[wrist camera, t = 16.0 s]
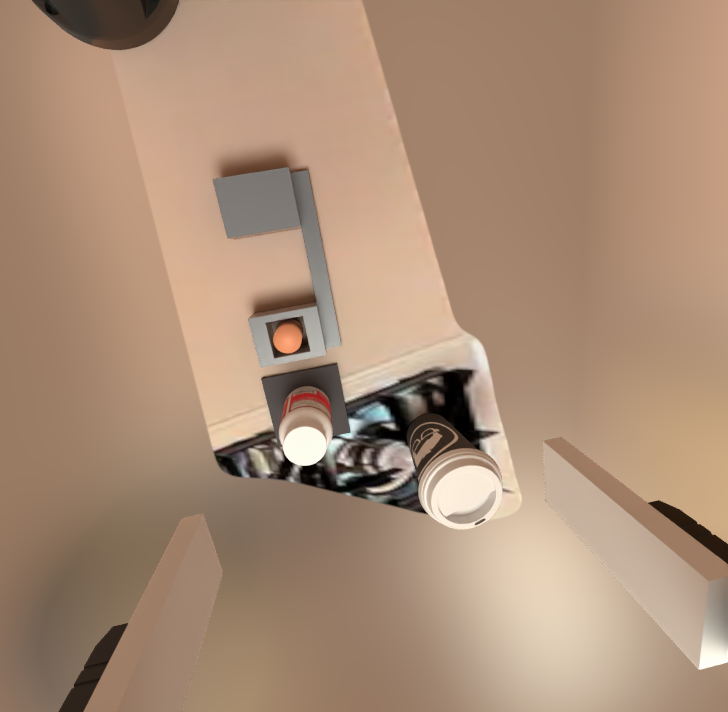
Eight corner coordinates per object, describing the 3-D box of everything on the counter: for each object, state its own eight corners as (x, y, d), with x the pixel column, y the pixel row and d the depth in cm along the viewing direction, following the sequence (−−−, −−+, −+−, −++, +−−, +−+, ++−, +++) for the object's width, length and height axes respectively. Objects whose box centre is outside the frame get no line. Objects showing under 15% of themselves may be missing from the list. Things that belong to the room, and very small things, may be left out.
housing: (221, 185, 44) (212, 179, 40) (308, 171, 45) (307, 164, 41) (265, 358, 50) (260, 367, 46) (340, 344, 51) (342, 351, 47)
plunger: (275, 321, 48) (270, 328, 44) (300, 316, 49) (298, 323, 44) (280, 345, 49) (276, 355, 44) (305, 340, 50) (304, 350, 45)
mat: (261, 378, 50) (261, 379, 50) (336, 363, 51) (337, 364, 51) (279, 445, 53) (278, 447, 53) (350, 430, 54) (350, 432, 53)
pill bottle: (306, 436, 53) (303, 482, 42) (274, 405, 51) (263, 446, 41) (340, 406, 52) (345, 446, 42) (308, 375, 51) (306, 408, 40)
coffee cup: (398, 468, 56) (426, 542, 42) (393, 408, 54) (420, 466, 39) (462, 457, 57) (510, 527, 43) (459, 398, 55) (509, 451, 40)
